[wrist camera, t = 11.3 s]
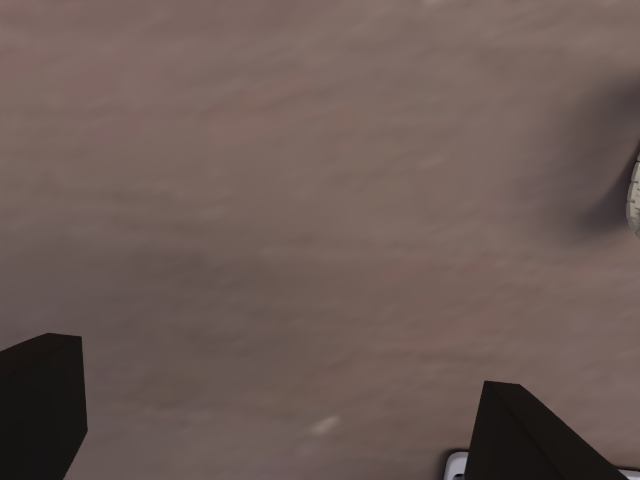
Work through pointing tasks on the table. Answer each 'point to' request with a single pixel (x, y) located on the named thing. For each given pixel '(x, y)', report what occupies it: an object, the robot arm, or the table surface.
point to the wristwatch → (634, 201)
